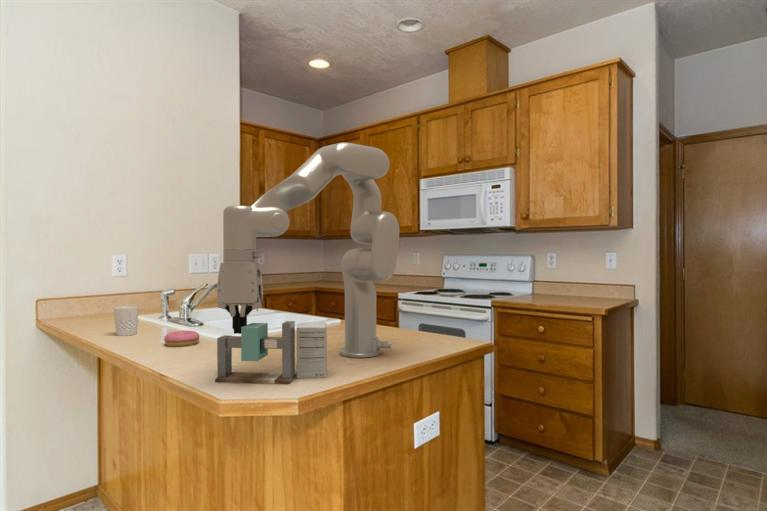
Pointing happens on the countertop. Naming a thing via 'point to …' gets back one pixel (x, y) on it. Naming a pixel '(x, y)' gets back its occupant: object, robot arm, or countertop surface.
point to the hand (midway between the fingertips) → (239, 332)
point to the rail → (283, 343)
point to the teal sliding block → (253, 341)
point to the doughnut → (181, 338)
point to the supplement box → (311, 350)
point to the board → (254, 378)
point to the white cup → (126, 320)
